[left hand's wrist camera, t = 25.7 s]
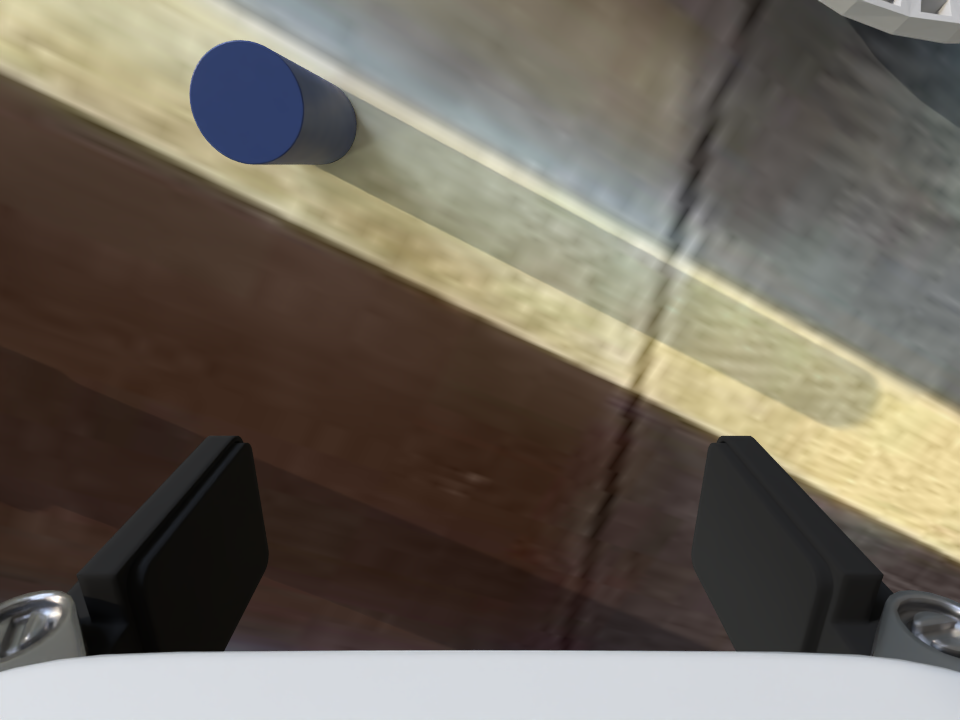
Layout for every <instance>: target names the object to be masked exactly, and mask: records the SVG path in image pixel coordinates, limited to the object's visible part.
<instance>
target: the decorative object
mask: <svg viewBox="0 0 960 720" xmlns="http://www.w3.org/2000/svg"><path fill="white" fill-rule="evenodd" d="M818 1H820V2H822V3H823V4H825V5H826V6H828V7H829V8H831V9H833V10H834V11H836V12H837V13H839V14H840V15H842V16H845V17H847V18H850V19H853V20H855V21H858V22H860V23H863V24H866V25H868V26H871V27H874V28H876V29H879V30H881V31H884V32H887V33H889V34H892V35H898V36H904V37H910V38H916V39H922V40H927V41H933V42H939V43H945V44H953V43H960V0H818Z"/></svg>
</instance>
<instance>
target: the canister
mask: <svg viewBox="0 0 960 720" xmlns="http://www.w3.org/2000/svg"><path fill="white" fill-rule="evenodd" d="M190 104H191V109H192V113H193V116H194V119H195V121H196V124H197V126H198V128H199V129H200V131H201V133H202V134H203V136H204V137H205V138H206V140H207V141H208V142H209V143H210V144H211V145H212V146H213V147H214V148H215V149H216V150H217V151H219V152H220V153H221V154H223V155H224V156H226V157H228V158H230V159H232V160H235V161H237V162H241V163H245V164H328V163H332V162H334V161H336V160H338V159H340V158H341V157H343V156H344V155H345V154H346V153H347V152H348V150H349V149H350V147H351V146H352V144H353V141H354V139H355V135H356V116H355V112H354V109H353V107H352V104H351V102H350V101H349V99H348V98H347V96H346V95H345V94H344V93H343V92H342V91H341V90H340V89H339V88H338V87H337V86H335V85H334V84H332V83H330V82H328V81H326V80H325V79H323V78H321V77H319V76H317V75H316V74H314V73H312V72H310V71H308V70H306V69H305V68H303V67H301V66H299V65H297V64H296V63H294V62H292V61H290V60H288V59H287V58H285V57H283V56H281V55H279V54H278V53H276V52H274V51H272V50H270V49H268V48H267V47H265V46H263V45H260V44H258V43H254V42H251V41H244V40H234V41H228V42H225V43H222V44H219V45H217V46H215V47H214V48H212V49H211V50H209V51H208V52H207V53H206V54H205V55H204V56H203V57H202V58H201V60H200V61H199V63H198V64H197V66H196V68H195V70H194V72H193V75H192V79H191V84H190Z"/></svg>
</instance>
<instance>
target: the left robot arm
mask: <svg viewBox="0 0 960 720" xmlns="http://www.w3.org/2000/svg"><path fill="white" fill-rule="evenodd" d="M268 555H269V552H268V545H267V539H266V532H265V526H264V520H263V514H262V508H261V502H260V496H259V490H258V483H257V477H256V471H255V465H254V459H253V453H252V448H251V446H250V444H249V443H243V441H242V439H241V437H239V436H209V437H207V438H206V439H205V440H204V441H203V442H202V443H201V444H200V445H199V446H198V447H197V448H196V449H195V450H194V452H193V453H192V454H191V455H190V456H189V457H188V458H187V459H186V460H185V461H184V462H183V463H182V464H181V465H180V466H179V467H178V468H177V469H176V470H175V472H174V473H173V474H172V475H171V476H170V477H169V478H168V479H167V480H166V481H165V482H164V483H163V484H162V485H161V486H160V487H159V488H158V489H157V490H156V492H155V493H154V494H153V495H152V496H151V497H150V498H149V499H148V500H147V501H146V502H145V503H144V504H143V505H142V506H141V507H140V508H139V509H138V510H137V512H136V513H135V514H134V515H133V516H132V517H131V518H130V519H129V520H128V521H127V522H126V523H125V524H124V525H123V526H122V527H121V528H120V529H119V530H118V532H117V533H116V534H115V535H114V536H113V537H112V538H111V539H110V540H109V541H108V542H107V543H106V544H105V545H104V546H103V547H102V548H101V549H100V550H99V552H98V553H97V554H96V555H95V556H94V557H93V558H92V559H91V560H90V561H89V562H88V563H87V564H86V565H85V566H84V567H83V568H82V569H81V570H80V572H79V573H78V574H77V578H78V582H77V583H76V584H75V585H74V586H73V587H72V588H71V589H70V590H69V591H68V592H67V594H66V593H63V592H61V591H50V590H46V591H39V592H32V593H28V594H25V595H21V596H18V597H15V598H12V599H10V600H7V601H5V602H3V603H1V604H0V720H960V604H959V603H957V602H955V601H953V600H950V599H948V598H945V597H942V596H939V595H935V594H932V593H928V592H921V591H914V590H910V591H899V592H897V593H894V594H893V592H892V591H891V590H890V589H889V588H888V587H887V586H886V585H885V584H884V583H883V582H882V578H883V574H882V573H881V572H880V570H879V569H878V568H877V567H876V566H875V565H874V564H873V563H872V562H871V561H870V560H869V559H868V558H867V557H866V556H865V555H864V554H863V553H862V552H861V550H860V549H859V548H858V547H857V546H856V545H855V544H854V543H853V542H852V541H851V540H850V539H849V538H848V537H847V536H846V535H845V534H844V533H843V532H842V530H841V529H840V528H839V527H838V526H837V525H836V524H835V523H834V522H833V521H832V520H831V519H830V518H829V517H828V516H827V515H826V514H825V513H824V512H823V510H822V509H821V508H820V507H819V506H818V505H817V504H816V503H815V502H814V501H813V500H812V499H811V498H810V497H809V496H808V495H807V494H806V493H805V492H804V490H803V489H802V488H801V487H800V486H799V485H798V484H797V483H796V482H795V481H794V480H793V479H792V478H791V477H790V476H789V475H788V474H787V473H786V472H785V470H784V469H783V468H782V467H781V466H780V465H779V464H778V463H777V462H776V461H775V460H774V459H773V458H772V457H771V456H770V455H769V454H768V453H767V452H766V450H765V449H764V448H763V447H762V446H761V445H760V444H759V443H758V442H757V441H756V440H755V439H754V438H753V437H751V436H721V437H719V439H718V441H717V443H711V444H710V446H709V448H708V453H707V459H706V465H705V471H704V477H703V483H702V490H701V496H700V502H699V508H698V514H697V520H696V526H695V532H694V539H693V545H692V552H691V555H692V563H693V567H694V570H695V572H696V574H697V576H698V578H699V580H700V582H701V584H702V585H703V587H704V589H705V591H706V593H707V595H708V597H709V599H710V601H711V603H712V605H713V607H714V609H715V611H716V613H717V615H718V617H719V619H720V621H721V623H722V625H723V627H724V629H725V630H726V632H727V634H728V636H729V638H730V640H731V642H732V644H733V646H734V648H735V650H736V652H733V651H234V652H224V650H225V648H226V646H227V644H228V642H229V640H230V638H231V636H232V634H233V632H234V630H235V629H236V627H237V625H238V623H239V621H240V619H241V617H242V615H243V613H244V611H245V609H246V607H247V605H248V603H249V601H250V599H251V597H252V595H253V593H254V591H255V589H256V587H257V585H258V583H259V582H260V580H261V578H262V576H263V574H264V572H265V570H266V567H267V563H268Z"/></svg>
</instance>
